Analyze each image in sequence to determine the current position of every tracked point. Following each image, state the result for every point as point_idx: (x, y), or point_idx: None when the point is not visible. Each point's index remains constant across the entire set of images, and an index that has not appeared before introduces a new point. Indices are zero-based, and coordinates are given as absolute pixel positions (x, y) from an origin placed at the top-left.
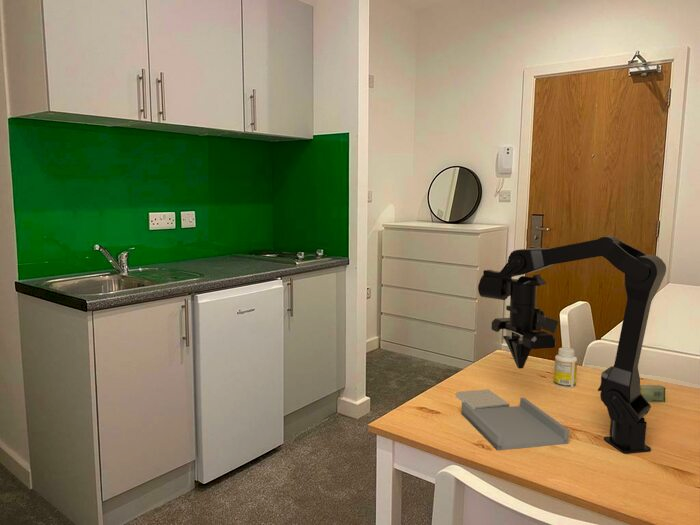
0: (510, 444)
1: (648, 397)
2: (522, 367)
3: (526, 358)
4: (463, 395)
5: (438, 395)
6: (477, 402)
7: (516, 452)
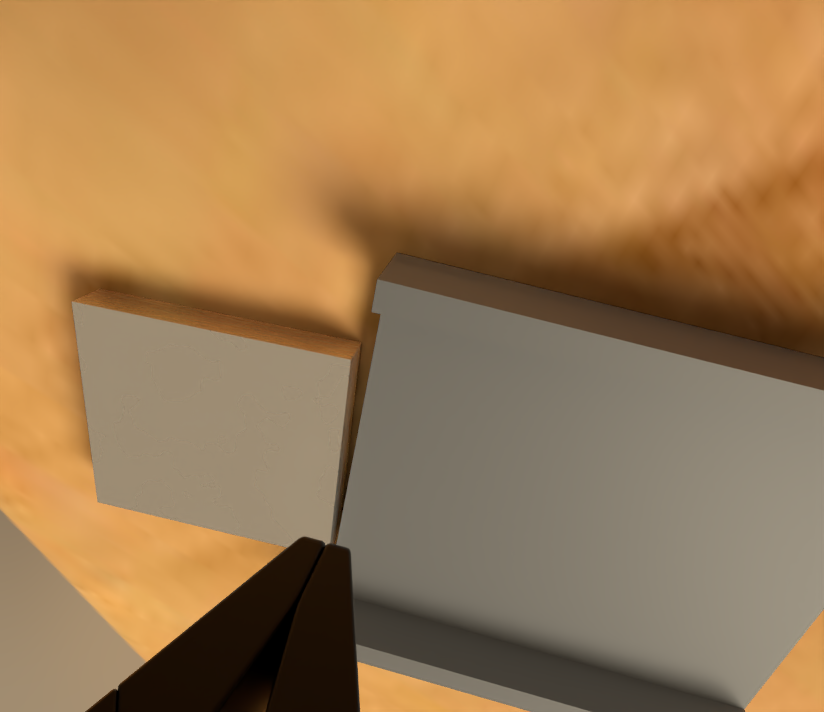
0: (765, 681)
1: None
2: (350, 568)
3: (356, 708)
4: (154, 502)
5: (79, 531)
6: (270, 506)
7: (798, 659)
